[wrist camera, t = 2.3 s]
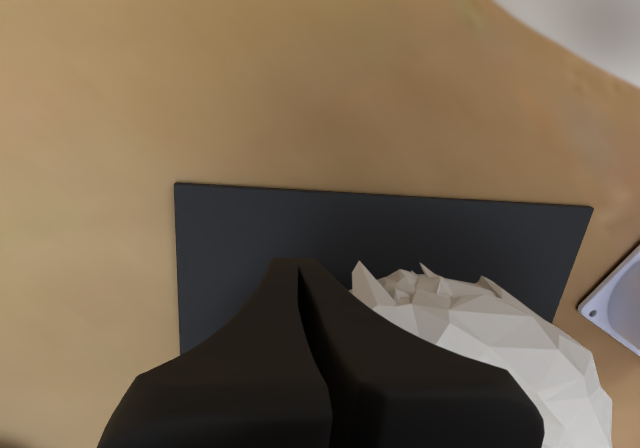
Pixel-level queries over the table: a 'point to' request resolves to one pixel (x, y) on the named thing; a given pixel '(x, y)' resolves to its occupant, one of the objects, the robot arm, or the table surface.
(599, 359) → the table surface
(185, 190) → the mat
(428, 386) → the robot arm
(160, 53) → the table surface
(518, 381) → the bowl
